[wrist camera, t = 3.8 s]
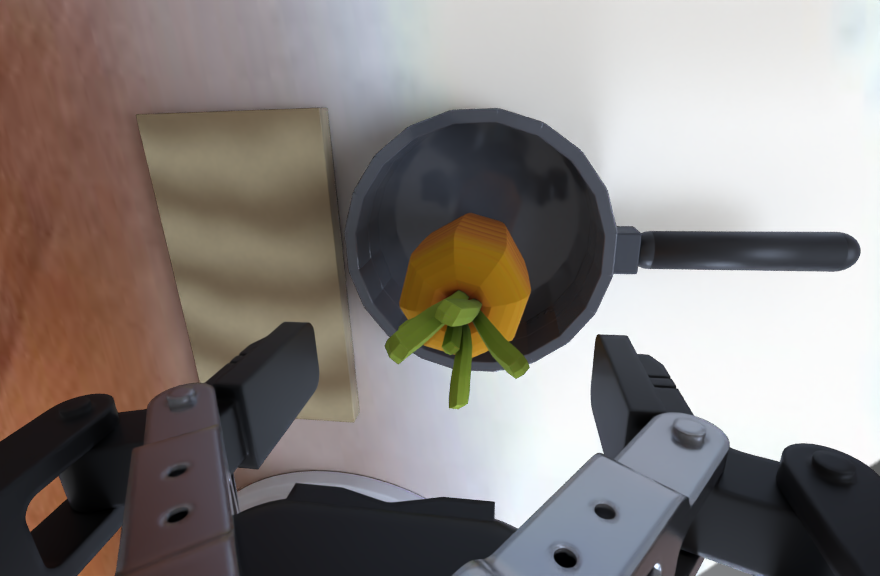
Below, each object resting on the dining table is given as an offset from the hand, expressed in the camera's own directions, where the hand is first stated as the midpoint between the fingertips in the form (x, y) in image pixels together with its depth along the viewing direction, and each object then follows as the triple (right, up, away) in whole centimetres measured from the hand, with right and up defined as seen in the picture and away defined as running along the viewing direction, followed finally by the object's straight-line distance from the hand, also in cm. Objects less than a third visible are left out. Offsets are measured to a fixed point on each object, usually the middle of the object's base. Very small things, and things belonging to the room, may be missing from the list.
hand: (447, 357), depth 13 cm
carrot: (+2, +5, +14) cm, 15 cm away
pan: (+2, +5, +14) cm, 15 cm away
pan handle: (+13, +4, +10) cm, 17 cm away
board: (-12, +3, +17) cm, 21 cm away
